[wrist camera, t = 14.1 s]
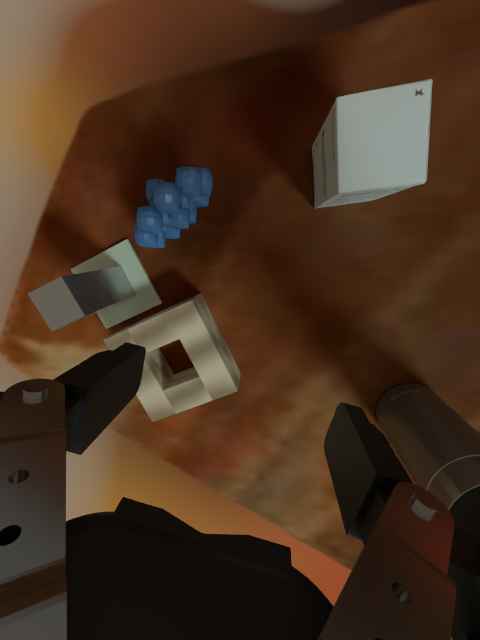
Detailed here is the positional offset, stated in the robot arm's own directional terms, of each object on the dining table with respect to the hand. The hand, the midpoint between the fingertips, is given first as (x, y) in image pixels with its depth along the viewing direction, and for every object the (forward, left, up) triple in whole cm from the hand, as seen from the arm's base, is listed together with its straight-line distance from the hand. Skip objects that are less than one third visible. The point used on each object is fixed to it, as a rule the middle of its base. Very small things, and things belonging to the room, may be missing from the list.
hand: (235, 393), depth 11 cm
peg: (+8, +19, -28) cm, 35 cm away
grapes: (+13, +5, -29) cm, 32 cm away
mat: (+8, +19, -29) cm, 35 cm away
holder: (-5, +15, -29) cm, 33 cm away
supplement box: (+8, -15, -29) cm, 34 cm away
